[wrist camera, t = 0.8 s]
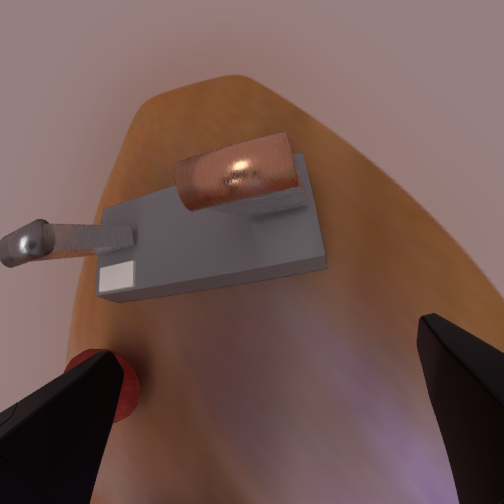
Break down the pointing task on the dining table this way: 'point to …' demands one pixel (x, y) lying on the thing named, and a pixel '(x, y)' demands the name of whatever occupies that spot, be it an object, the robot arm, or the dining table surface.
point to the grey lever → (61, 241)
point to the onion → (129, 387)
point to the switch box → (205, 246)
